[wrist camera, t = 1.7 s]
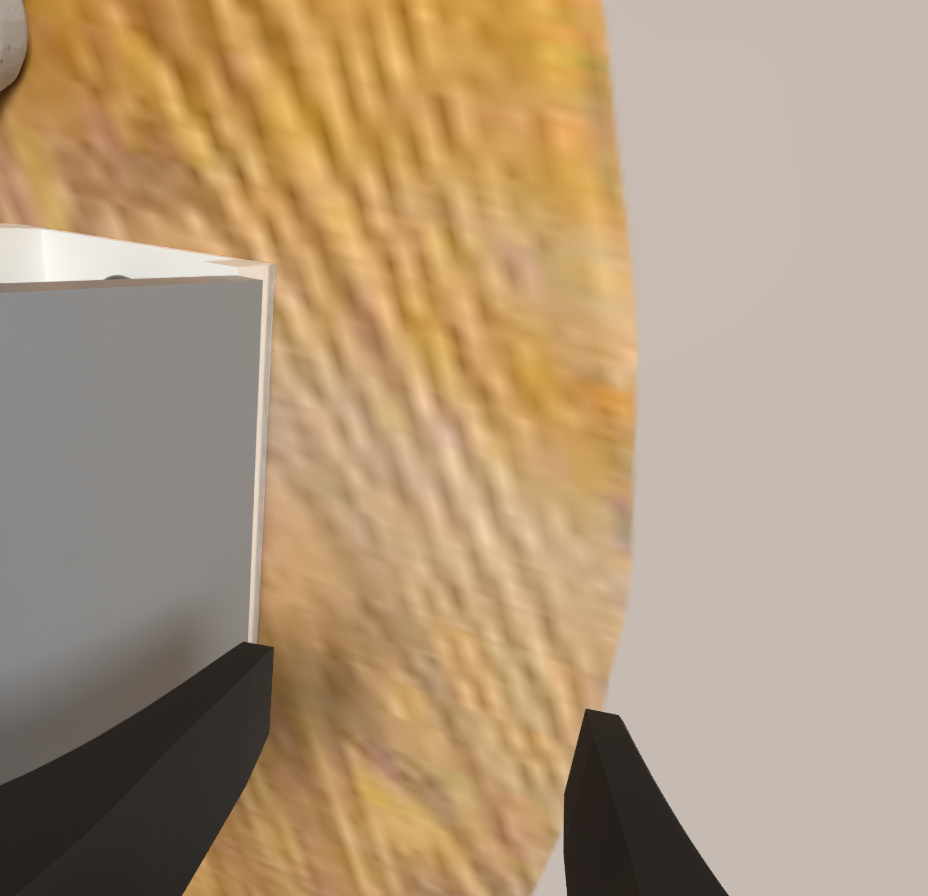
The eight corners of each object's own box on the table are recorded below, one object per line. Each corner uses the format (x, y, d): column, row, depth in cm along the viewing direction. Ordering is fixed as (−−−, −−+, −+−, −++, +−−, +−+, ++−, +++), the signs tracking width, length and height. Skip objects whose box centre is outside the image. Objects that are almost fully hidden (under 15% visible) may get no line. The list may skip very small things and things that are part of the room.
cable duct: (257, 654, 24) (225, 700, 21) (52, 614, 24) (-1, 655, 22) (275, 264, 19) (238, 267, 17) (23, 224, 20) (-48, 221, 17)
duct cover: (223, 698, 21) (245, 705, 21) (-11, 934, 14) (19, 948, 13) (236, 275, 17) (262, 280, 16) (-99, 287, 9) (-57, 295, 9)
